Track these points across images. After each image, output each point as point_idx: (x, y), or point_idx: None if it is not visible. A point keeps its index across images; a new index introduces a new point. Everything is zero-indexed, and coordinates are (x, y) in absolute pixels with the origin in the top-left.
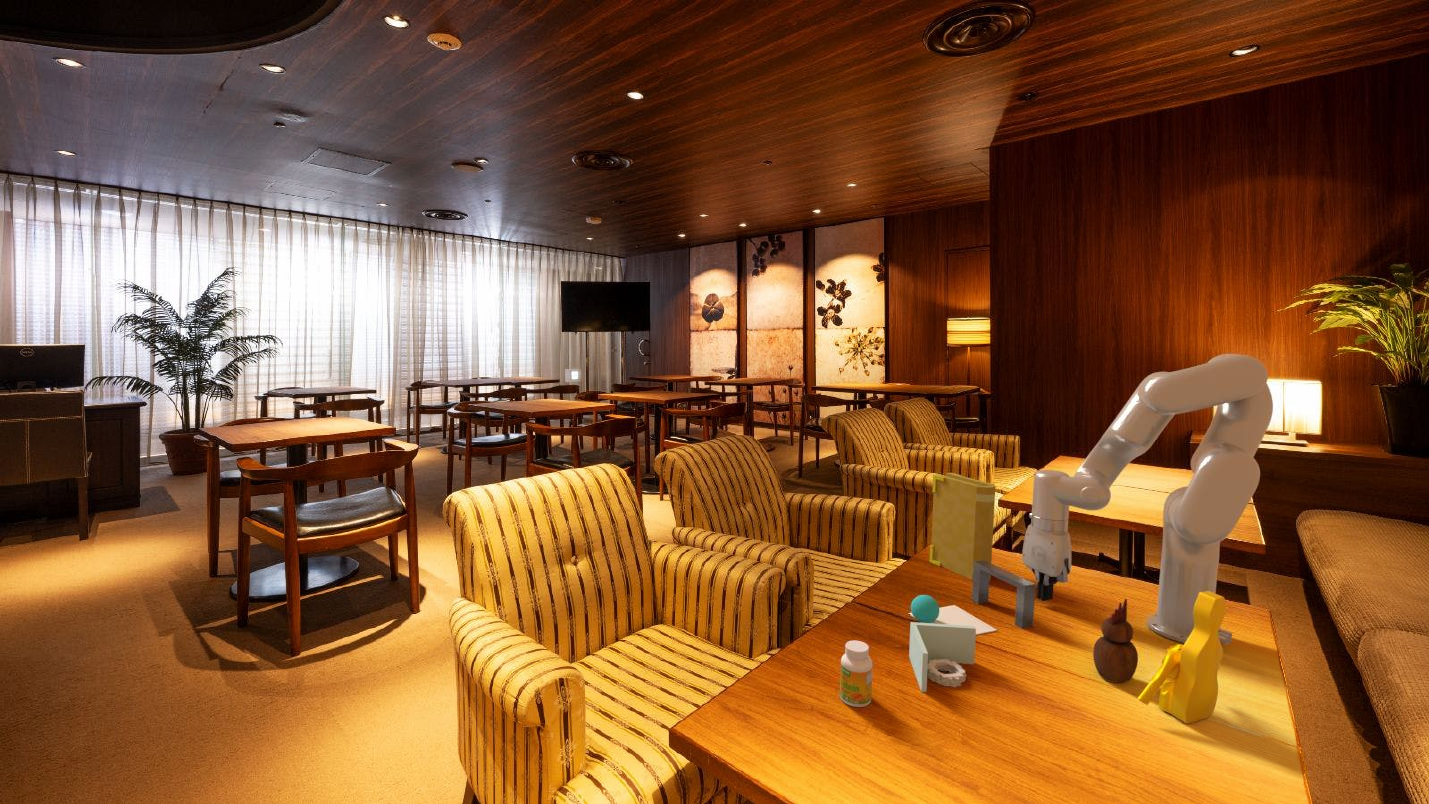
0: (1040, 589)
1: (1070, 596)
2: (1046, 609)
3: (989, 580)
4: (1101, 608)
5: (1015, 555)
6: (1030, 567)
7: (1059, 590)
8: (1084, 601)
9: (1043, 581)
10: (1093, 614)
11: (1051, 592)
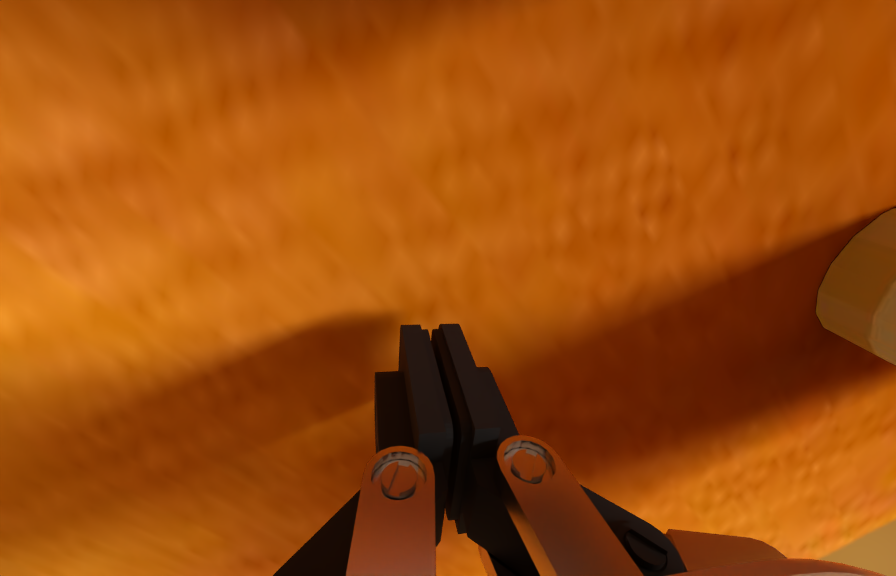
0: (450, 387)
1: None
2: (358, 299)
3: (818, 299)
4: (269, 563)
5: None
6: (717, 573)
7: None
8: None
9: (471, 485)
10: (205, 496)
11: (376, 436)
